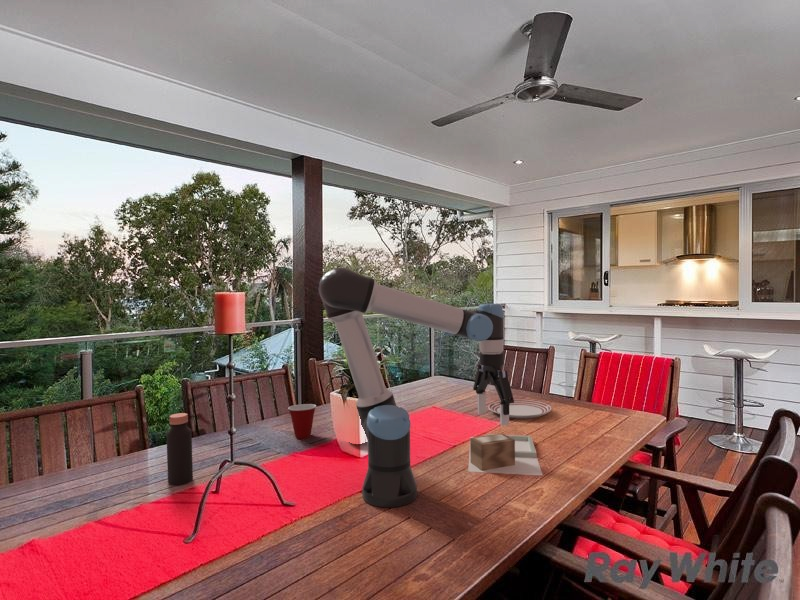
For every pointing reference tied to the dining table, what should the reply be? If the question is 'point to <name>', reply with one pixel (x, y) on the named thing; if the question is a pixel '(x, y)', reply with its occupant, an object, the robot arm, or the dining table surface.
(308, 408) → the plastic cup
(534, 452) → the grey board with frame
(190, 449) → the bottle
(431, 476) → the dining table surface
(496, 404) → the dinner plate
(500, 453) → the wooden block
